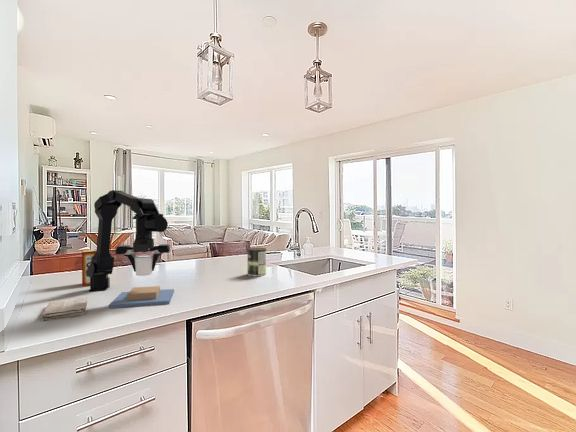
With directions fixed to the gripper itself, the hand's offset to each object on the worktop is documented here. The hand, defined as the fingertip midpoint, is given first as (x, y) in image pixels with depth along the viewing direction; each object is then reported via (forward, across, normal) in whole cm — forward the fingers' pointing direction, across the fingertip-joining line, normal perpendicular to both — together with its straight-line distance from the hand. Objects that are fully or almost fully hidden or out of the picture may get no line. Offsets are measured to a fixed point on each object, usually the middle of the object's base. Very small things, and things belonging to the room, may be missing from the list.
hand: (144, 271), depth 120 cm
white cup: (+1, 0, 0) cm, 1 cm away
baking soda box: (+11, -28, +35) cm, 46 cm away
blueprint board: (+11, 0, 0) cm, 11 cm away
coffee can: (+11, +50, +36) cm, 63 cm away
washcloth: (+12, -23, -8) cm, 27 cm away
